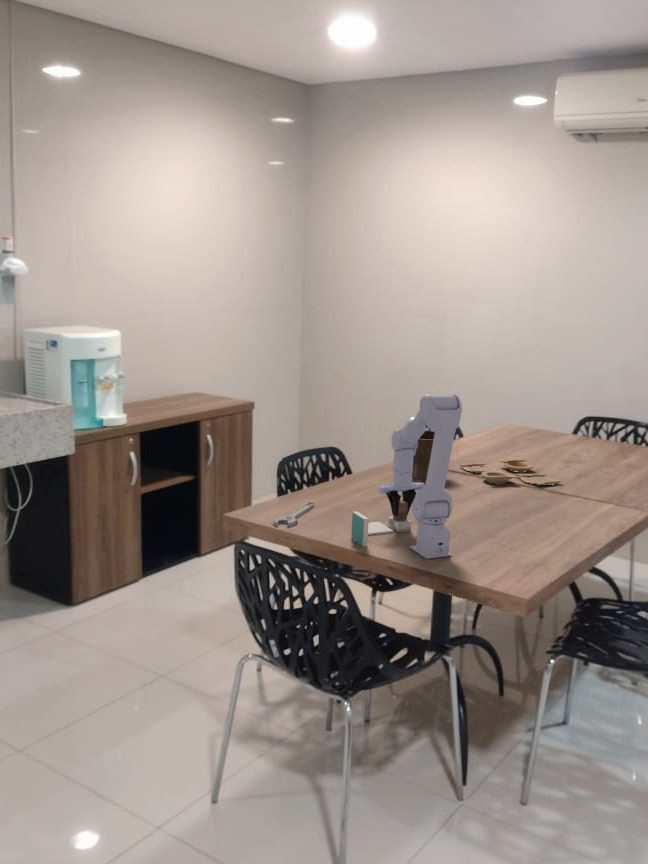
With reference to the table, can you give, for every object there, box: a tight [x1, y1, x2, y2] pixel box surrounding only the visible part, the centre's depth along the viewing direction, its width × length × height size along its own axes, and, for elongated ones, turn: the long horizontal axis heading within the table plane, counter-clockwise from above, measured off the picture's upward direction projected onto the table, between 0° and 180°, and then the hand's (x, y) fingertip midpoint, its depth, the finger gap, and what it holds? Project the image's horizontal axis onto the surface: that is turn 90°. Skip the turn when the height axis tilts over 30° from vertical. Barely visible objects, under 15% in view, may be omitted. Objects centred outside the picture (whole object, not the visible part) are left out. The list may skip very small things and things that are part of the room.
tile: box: [350, 511, 370, 547], centre depth 236 cm, size 7×2×8 cm, turn 25°
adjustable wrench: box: [273, 501, 315, 527], centre depth 259 cm, size 25×6×2 cm, turn 154°
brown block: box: [387, 499, 412, 533], centre depth 250 cm, size 6×4×8 cm
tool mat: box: [368, 521, 394, 536], centre depth 249 cm, size 9×9×1 cm
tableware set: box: [459, 458, 562, 486], centre depth 320 cm, size 35×29×4 cm
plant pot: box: [412, 429, 435, 481], centre depth 313 cm, size 16×16×16 cm
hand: (400, 514), depth 250 cm, fingers closed on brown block, 3 cm apart
